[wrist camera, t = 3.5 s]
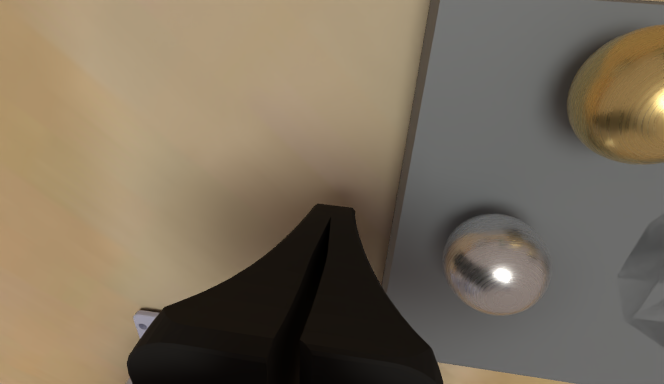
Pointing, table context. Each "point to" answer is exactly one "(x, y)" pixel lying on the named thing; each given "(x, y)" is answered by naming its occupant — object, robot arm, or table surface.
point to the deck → (529, 195)
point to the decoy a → (622, 98)
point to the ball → (497, 264)
